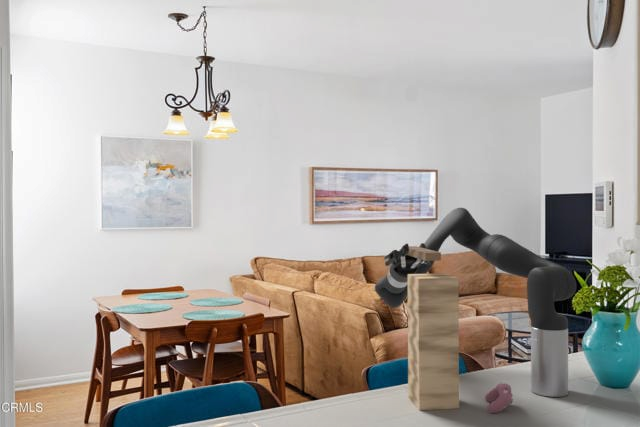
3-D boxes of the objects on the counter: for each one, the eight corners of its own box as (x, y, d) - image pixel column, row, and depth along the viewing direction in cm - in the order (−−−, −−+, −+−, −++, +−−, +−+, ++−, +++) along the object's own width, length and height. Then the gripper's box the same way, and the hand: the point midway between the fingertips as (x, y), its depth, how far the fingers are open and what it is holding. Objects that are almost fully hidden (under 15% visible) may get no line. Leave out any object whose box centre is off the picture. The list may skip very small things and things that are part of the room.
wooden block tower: (407, 397, 157) (407, 274, 157) (445, 395, 159) (445, 273, 158) (419, 410, 147) (418, 278, 147) (459, 408, 149) (458, 277, 148)
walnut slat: (402, 253, 173) (402, 246, 173) (415, 253, 174) (415, 246, 174) (425, 260, 151) (425, 252, 151) (440, 260, 152) (440, 252, 152)
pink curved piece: (504, 421, 144) (518, 395, 143) (486, 411, 145) (500, 386, 144) (499, 407, 154) (512, 383, 153) (483, 398, 155) (496, 374, 154)
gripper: (376, 260, 183) (388, 234, 168) (422, 259, 185) (438, 233, 170) (379, 283, 179) (392, 259, 164) (426, 282, 181) (442, 258, 166)
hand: (415, 246), depth 167 cm, fingers closed on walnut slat, 4 cm apart
